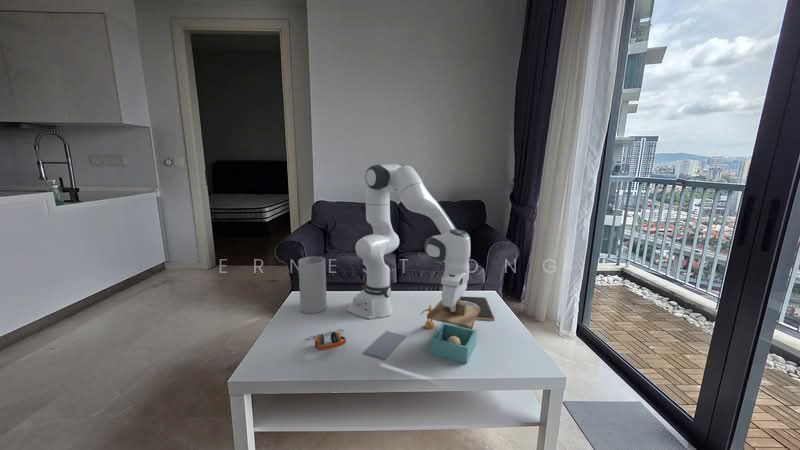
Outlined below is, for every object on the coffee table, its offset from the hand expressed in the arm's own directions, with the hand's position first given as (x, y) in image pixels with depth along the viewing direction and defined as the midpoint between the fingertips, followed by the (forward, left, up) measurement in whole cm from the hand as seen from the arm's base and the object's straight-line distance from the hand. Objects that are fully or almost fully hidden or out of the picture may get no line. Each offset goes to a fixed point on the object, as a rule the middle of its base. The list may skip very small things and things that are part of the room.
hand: (454, 309), depth 122 cm
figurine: (-14, +11, -18) cm, 25 cm away
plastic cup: (0, +17, -18) cm, 24 cm away
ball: (0, 0, -16) cm, 16 cm away
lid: (0, 0, -2) cm, 2 cm away
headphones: (-46, -18, -18) cm, 52 cm away
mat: (-20, -8, -17) cm, 27 cm away
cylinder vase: (-73, +5, -18) cm, 75 cm away
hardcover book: (-2, +41, -18) cm, 45 cm away
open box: (0, 0, -17) cm, 17 cm away
